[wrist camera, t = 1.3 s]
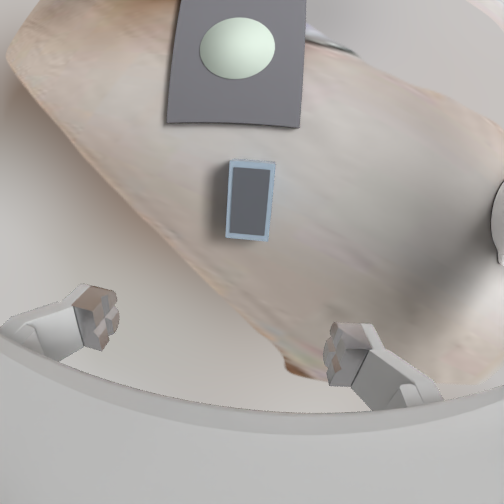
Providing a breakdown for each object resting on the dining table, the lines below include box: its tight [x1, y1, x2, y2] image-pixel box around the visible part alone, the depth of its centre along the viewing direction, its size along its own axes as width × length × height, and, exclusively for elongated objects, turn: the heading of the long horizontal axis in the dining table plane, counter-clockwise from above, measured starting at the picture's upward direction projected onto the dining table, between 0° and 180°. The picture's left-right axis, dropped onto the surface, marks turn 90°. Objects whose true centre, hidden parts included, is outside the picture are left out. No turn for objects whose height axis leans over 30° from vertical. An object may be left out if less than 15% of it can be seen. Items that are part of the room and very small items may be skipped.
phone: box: [226, 159, 276, 242], centre depth 33 cm, size 5×9×4 cm, turn 176°
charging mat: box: [167, 0, 306, 128], centre depth 27 cm, size 16×20×1 cm
